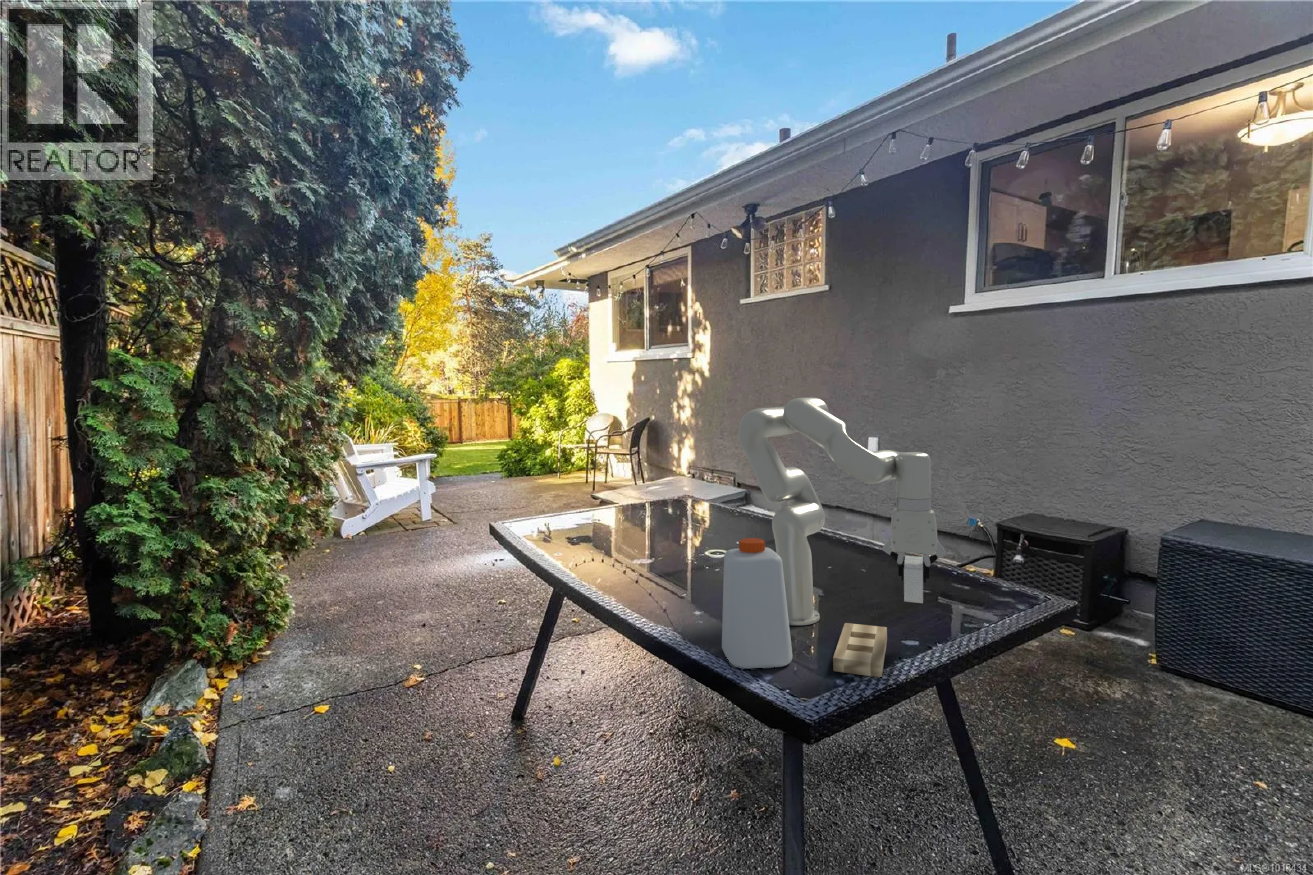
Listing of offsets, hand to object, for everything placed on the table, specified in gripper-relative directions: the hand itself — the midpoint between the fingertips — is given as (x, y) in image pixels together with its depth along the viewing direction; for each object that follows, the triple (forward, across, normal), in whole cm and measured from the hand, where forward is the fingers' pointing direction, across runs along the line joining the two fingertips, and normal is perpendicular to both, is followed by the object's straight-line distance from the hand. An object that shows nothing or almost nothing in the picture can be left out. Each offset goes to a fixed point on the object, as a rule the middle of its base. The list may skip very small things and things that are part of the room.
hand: (913, 579), depth 138 cm
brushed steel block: (+4, 0, 0) cm, 4 cm away
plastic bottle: (+17, -34, -17) cm, 42 cm away
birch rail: (+17, -11, -8) cm, 22 cm away
